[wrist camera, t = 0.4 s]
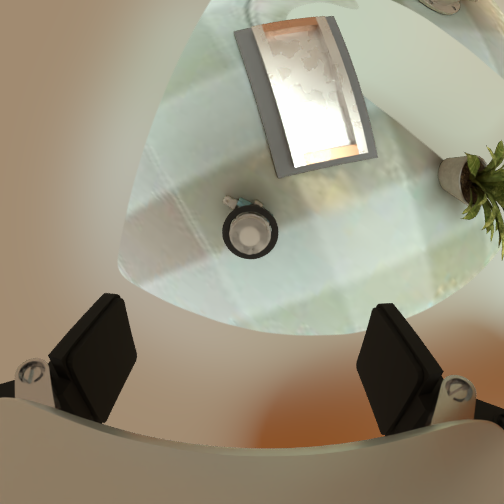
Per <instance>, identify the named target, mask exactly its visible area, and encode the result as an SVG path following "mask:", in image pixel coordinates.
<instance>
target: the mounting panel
mask: <svg viewBox="0 0 504 504" xmlns="http://www.w3.org/2000/svg"><path fill="white" fill-rule="evenodd" d="M325 18H326V20H327V22H328V25H329V27H330V30H331V32H332V34H333V37H334V39H335V42H336V44H337V47H338V50H339V52H340V55H341V58H342V61H343V63H344V66H345V69H346V72H347V75H348V78H349V81H350V85H351V88H352V91H353V94H354V98H355V101H356V105H357V108H358V112H359V116H360V120H361V123H362V127H363V132H364V136H365V140H366V145H367V149H368V153H364V154H358V155H353V156H348V157H342V158H337V159H332V160H328V161H323V162H318V163H313V164H309V165H304V166H300V167H296V168H295V167H293V165H292V161H291V157H290V154H289V150H288V146H287V143H286V139H285V135H284V132H283V128H282V125H281V121H280V118H279V114H278V111H277V108H276V104H275V101H274V98H273V94H272V91H271V88H270V85H269V82H268V79H267V76H266V73H265V69H264V66H263V63H262V61H261V58H260V55H259V52H258V49H257V46H256V43H255V40H254V38H253V35H252V28H247V29H242V30H238V31H234V35H235V38H236V41H237V44H238V47H239V50H240V53H241V56H242V59H243V62H244V65H245V68H246V71H247V74H248V77H249V80H250V83H251V87H252V90H253V93H254V96H255V99H256V103H257V106H258V109H259V113H260V116H261V119H262V123H263V126H264V130H265V133H266V137H267V140H268V144H269V147H270V151H271V155H272V158H273V162H274V166H275V169H276V173H277V177H278V178H282V177H286V176H290V175H295V174H299V173H303V172H308V171H312V170H317V169H321V168H326V167H331V166H335V165H340V164H345V163H350V162H356V161H361V160H366V159H372V158H378V156H377V151H376V146H375V141H374V137H373V133H372V128H371V124H370V120H369V116H368V112H367V109H366V105H365V102H364V98H363V95H362V91H361V88H360V85H359V82H358V78H357V75H356V72H355V69H354V67H353V64H352V61H351V58H350V55H349V53H348V50H347V47H346V45H345V42H344V40H343V37H342V35H341V32H340V30H339V27H338V25H337V23H336V20H335V18H334V16H329V17H325Z"/></svg>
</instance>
